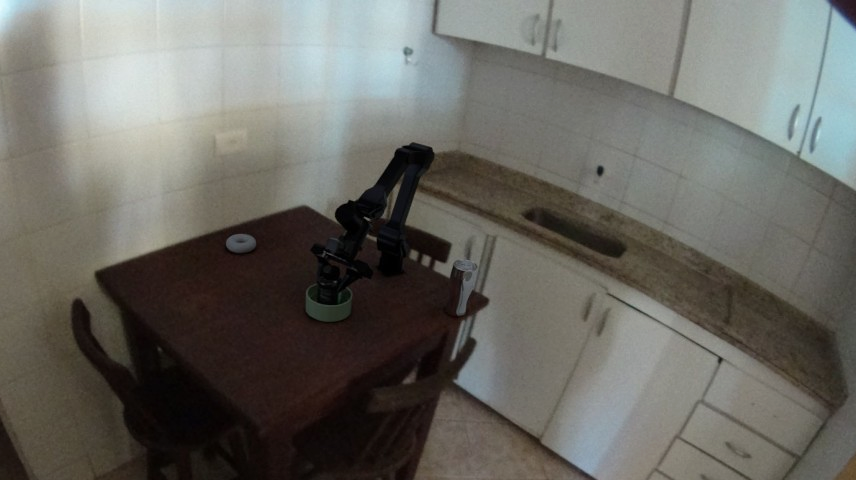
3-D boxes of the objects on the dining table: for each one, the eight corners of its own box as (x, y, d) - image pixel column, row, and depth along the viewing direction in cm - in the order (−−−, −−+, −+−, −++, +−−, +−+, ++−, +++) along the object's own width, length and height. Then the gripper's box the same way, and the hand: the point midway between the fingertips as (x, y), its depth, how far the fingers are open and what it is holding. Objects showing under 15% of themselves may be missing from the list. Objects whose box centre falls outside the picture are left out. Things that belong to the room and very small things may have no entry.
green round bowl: (338, 294, 181) (339, 278, 178) (359, 317, 172) (360, 300, 168) (298, 303, 177) (298, 287, 173) (317, 327, 167) (318, 310, 164)
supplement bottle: (345, 309, 172) (348, 272, 165) (323, 314, 170) (325, 277, 163) (333, 297, 177) (336, 261, 170) (312, 302, 175) (314, 265, 168)
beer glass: (463, 320, 172) (473, 273, 163) (439, 312, 175) (448, 266, 166) (471, 309, 177) (482, 263, 168) (448, 302, 180) (457, 256, 171)
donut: (224, 254, 199) (255, 255, 199) (223, 245, 197) (254, 245, 197) (228, 241, 207) (257, 241, 207) (227, 231, 205) (257, 232, 205)
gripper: (315, 215, 167) (288, 266, 166) (371, 236, 157) (343, 290, 157) (331, 232, 176) (305, 280, 176) (385, 253, 167) (358, 303, 167)
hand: (327, 287), depth 169 cm, fingers closed on supplement bottle, 7 cm apart
